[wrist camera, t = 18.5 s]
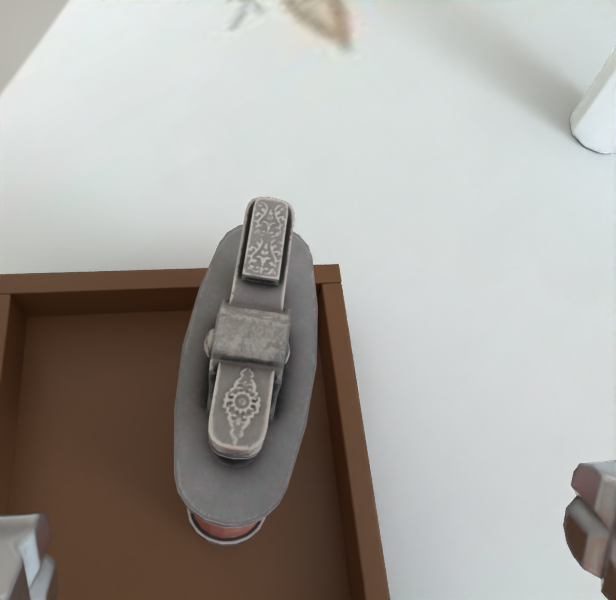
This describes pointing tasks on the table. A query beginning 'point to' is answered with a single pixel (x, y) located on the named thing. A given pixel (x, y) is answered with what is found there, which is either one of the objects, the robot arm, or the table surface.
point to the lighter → (246, 375)
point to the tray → (168, 448)
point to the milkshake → (598, 111)
